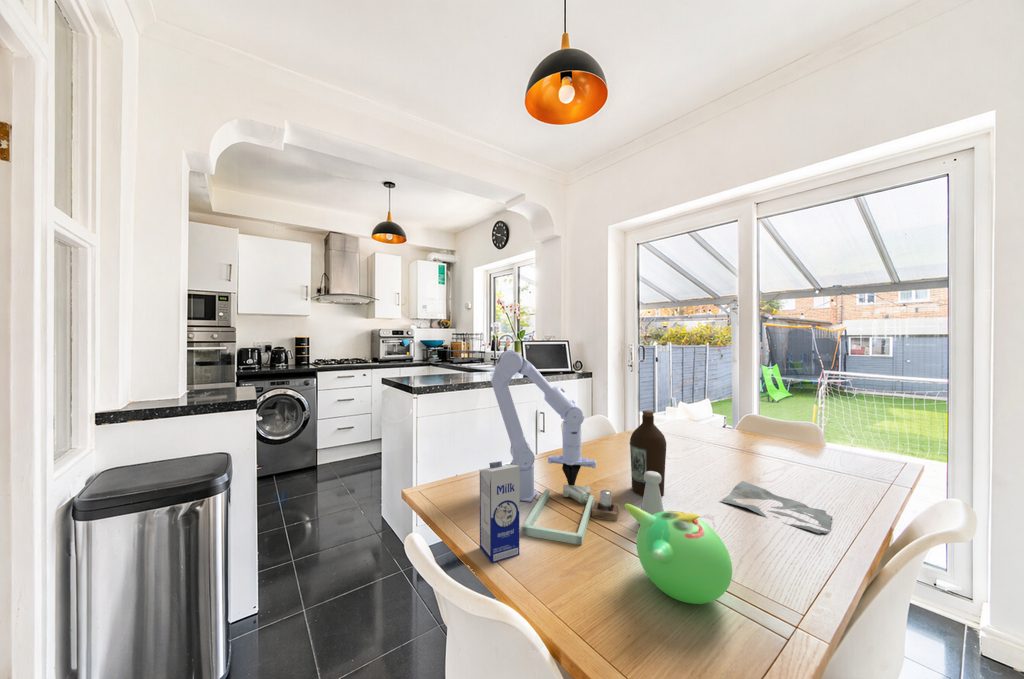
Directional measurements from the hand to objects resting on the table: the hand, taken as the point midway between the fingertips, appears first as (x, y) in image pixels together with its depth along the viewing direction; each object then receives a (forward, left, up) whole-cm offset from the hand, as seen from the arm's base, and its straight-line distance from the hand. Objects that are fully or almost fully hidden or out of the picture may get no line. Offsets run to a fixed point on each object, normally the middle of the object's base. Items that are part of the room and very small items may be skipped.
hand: (571, 488), depth 117 cm
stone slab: (+56, +8, -2) cm, 57 cm away
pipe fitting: (+2, -4, -2) cm, 5 cm away
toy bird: (+27, -37, -2) cm, 46 cm away
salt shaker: (+23, -11, -2) cm, 26 cm away
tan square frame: (+11, -10, -1) cm, 15 cm away
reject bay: (0, -16, -1) cm, 16 cm away
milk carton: (-10, -36, -2) cm, 38 cm away
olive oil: (+22, +9, -2) cm, 24 cm away
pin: (+11, -10, -1) cm, 15 cm away
